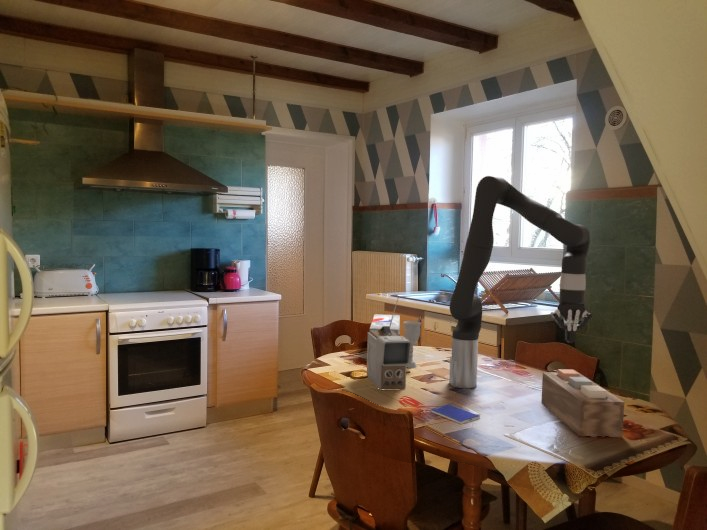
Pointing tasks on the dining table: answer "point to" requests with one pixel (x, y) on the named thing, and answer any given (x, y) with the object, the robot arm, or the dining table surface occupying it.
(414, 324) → the chalice
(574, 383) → the slate key
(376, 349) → the portable television
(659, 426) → the dining table surface
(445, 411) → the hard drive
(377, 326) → the soda pack
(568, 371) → the terracotta key
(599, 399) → the keypad console
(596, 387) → the ivory key
